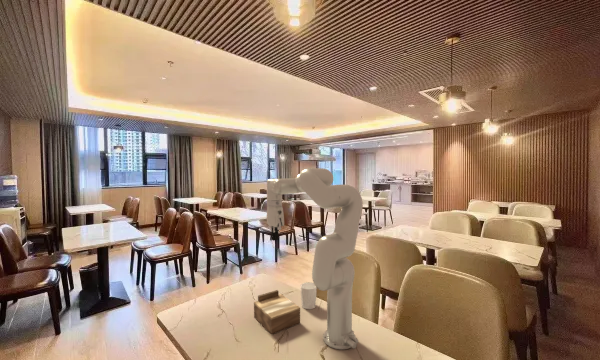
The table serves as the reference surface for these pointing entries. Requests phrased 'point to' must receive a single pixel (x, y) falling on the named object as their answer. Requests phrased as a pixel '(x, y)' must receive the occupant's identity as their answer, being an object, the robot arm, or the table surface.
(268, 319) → the tea box
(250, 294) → the table surface
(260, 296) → the tea box lid
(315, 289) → the white cup
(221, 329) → the table surface
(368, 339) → the table surface
